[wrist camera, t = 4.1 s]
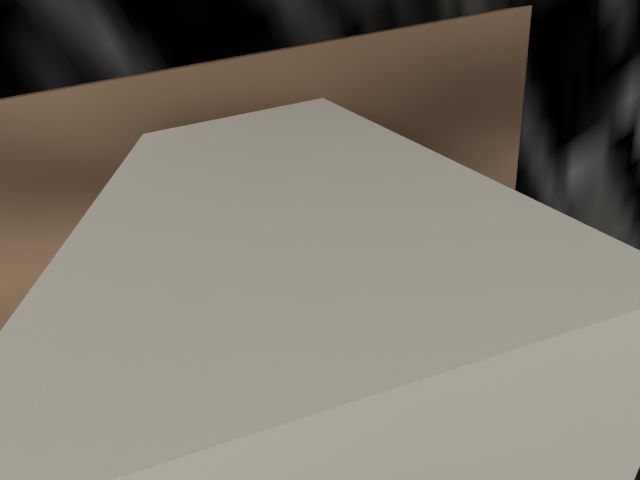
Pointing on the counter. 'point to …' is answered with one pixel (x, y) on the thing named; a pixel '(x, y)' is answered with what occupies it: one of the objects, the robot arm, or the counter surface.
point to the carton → (321, 319)
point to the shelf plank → (254, 95)
